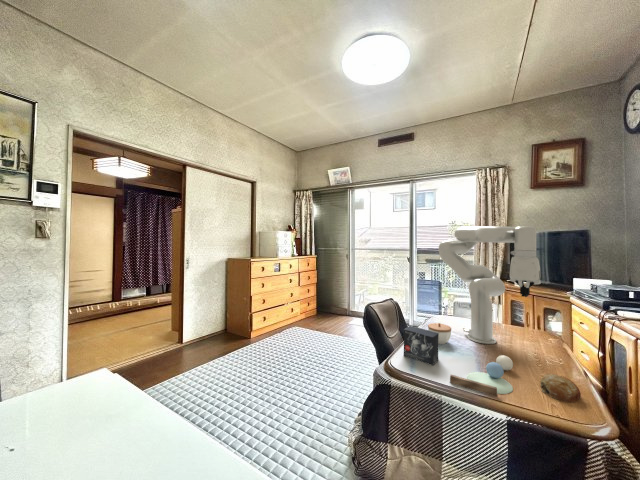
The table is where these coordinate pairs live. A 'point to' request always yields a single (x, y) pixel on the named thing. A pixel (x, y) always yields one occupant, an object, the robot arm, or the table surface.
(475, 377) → the mint mark
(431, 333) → the small box
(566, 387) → the bread roll
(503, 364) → the cue ball
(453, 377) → the walnut rail
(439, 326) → the lidded jar
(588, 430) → the table surface
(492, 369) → the blue ball
